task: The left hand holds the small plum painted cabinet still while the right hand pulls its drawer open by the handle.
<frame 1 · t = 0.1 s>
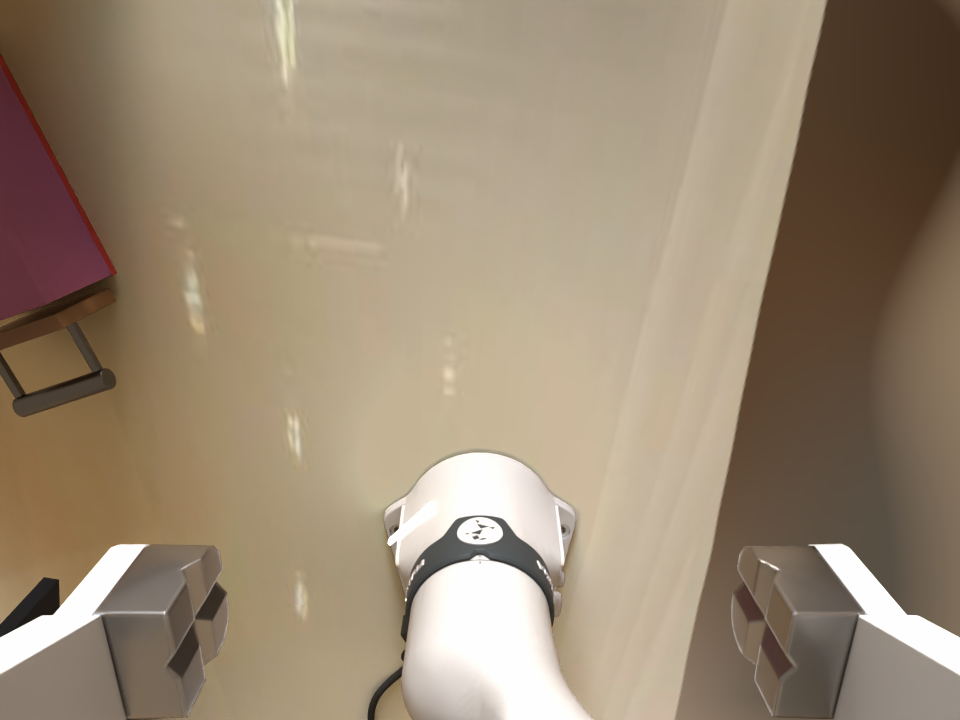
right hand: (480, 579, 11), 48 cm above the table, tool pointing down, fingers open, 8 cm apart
cabinet: (1, 178, 55), on the table
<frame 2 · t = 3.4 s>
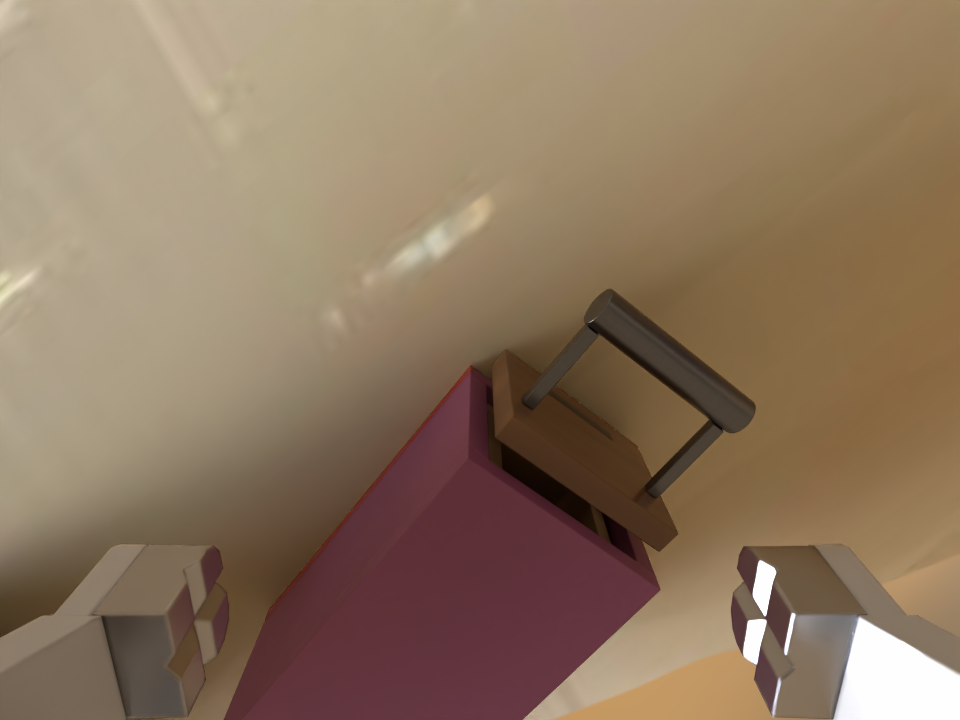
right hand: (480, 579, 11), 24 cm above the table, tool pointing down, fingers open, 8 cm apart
cabinet: (434, 543, 39), on the table
drawer: (499, 526, 32), point 5 cm above the table, slide at 0.9 cm
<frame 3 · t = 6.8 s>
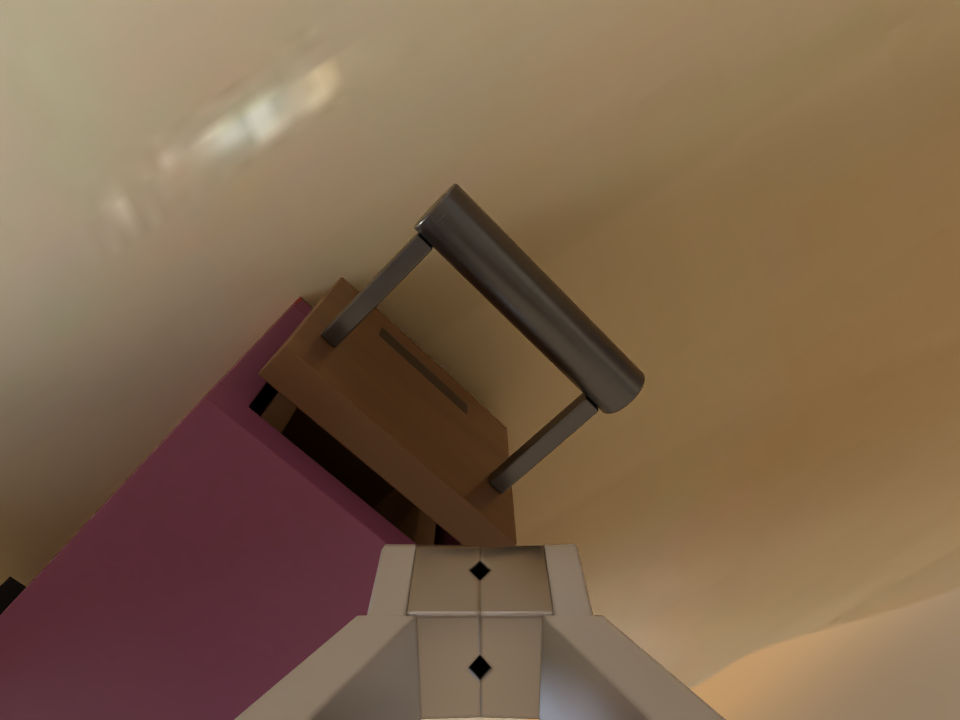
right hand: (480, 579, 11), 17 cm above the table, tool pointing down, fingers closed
cabinet: (244, 526, 30), on the table, touching left hand
drawer: (298, 509, 24), point 5 cm above the table, slide at 0.9 cm
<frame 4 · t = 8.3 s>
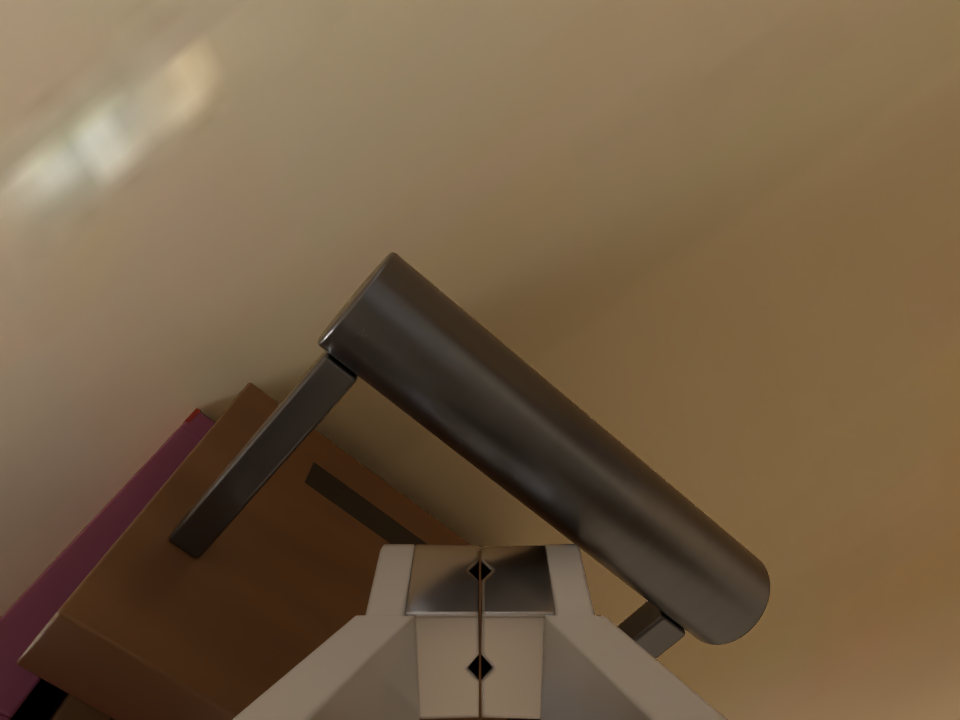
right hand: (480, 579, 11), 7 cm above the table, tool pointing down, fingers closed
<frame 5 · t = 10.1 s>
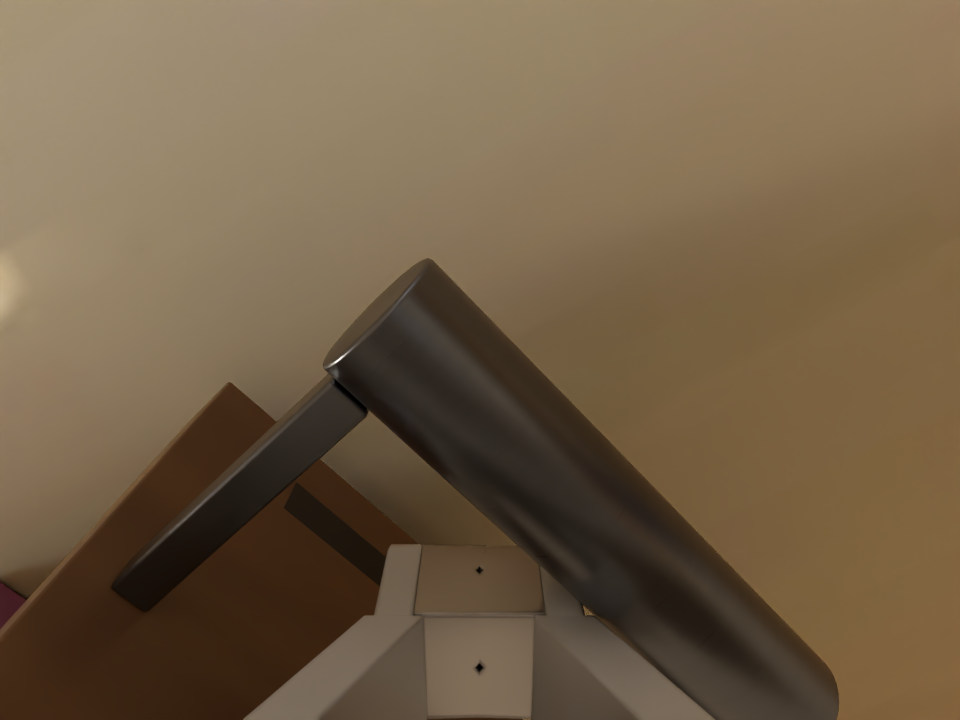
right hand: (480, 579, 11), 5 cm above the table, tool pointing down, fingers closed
when the left hand's fingers open (5 cm above the table, at t = 11.8 s): cabinet stays where it is, on the table.
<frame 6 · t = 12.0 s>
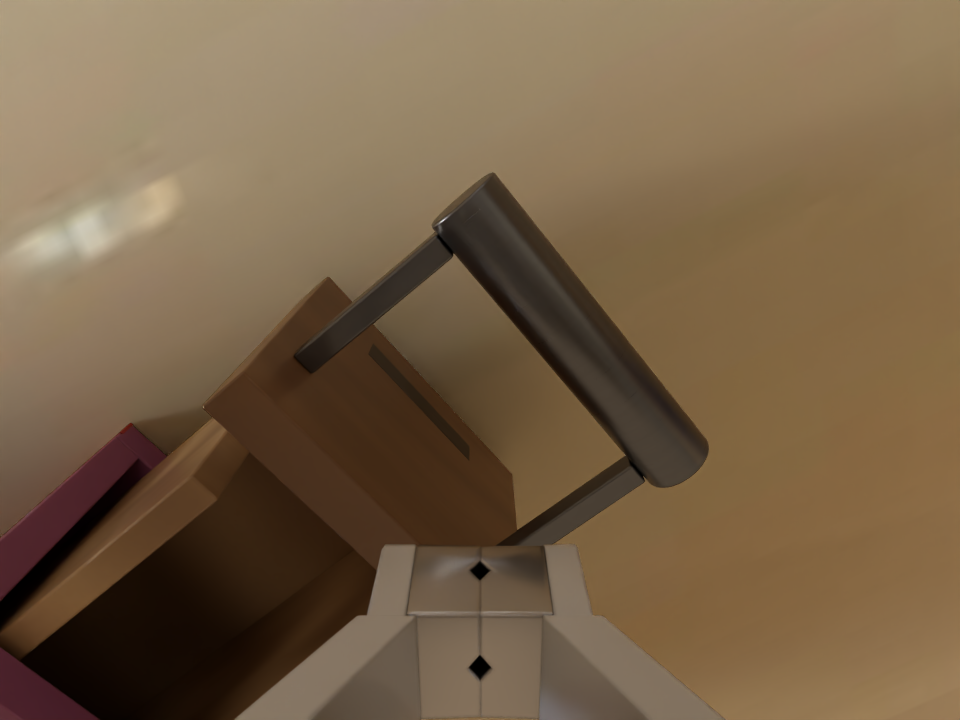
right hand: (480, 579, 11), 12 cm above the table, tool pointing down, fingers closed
cabinet: (65, 655, 27), on the table
drawer: (249, 563, 19), point 5 cm above the table, slide at 8.0 cm
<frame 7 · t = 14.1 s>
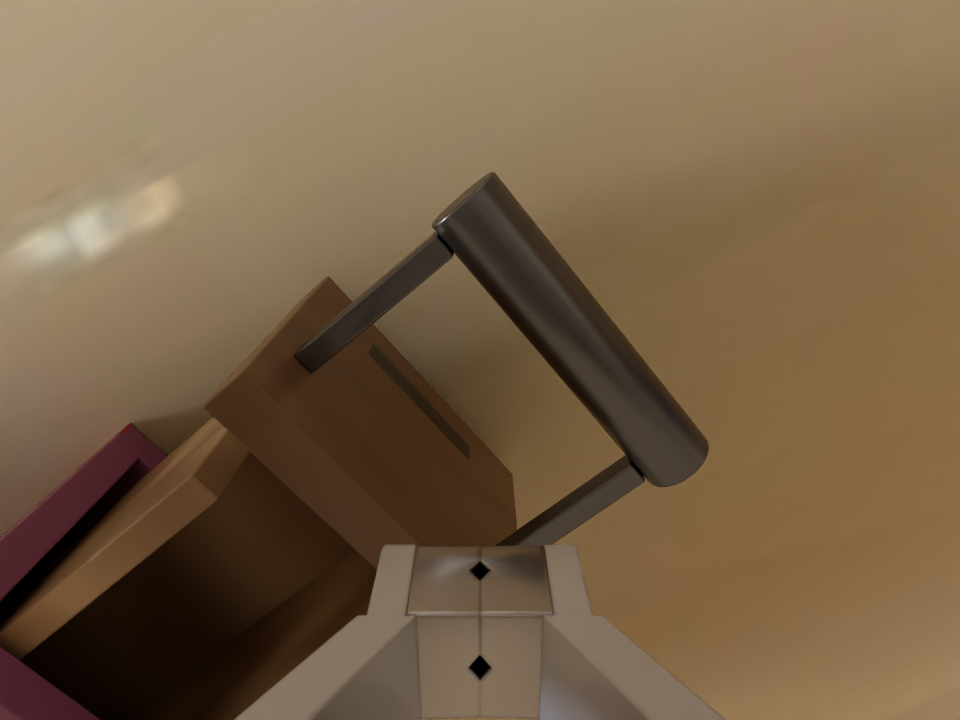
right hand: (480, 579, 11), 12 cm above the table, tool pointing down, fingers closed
cabinet: (65, 655, 27), on the table
drawer: (249, 563, 19), point 5 cm above the table, slide at 8.0 cm
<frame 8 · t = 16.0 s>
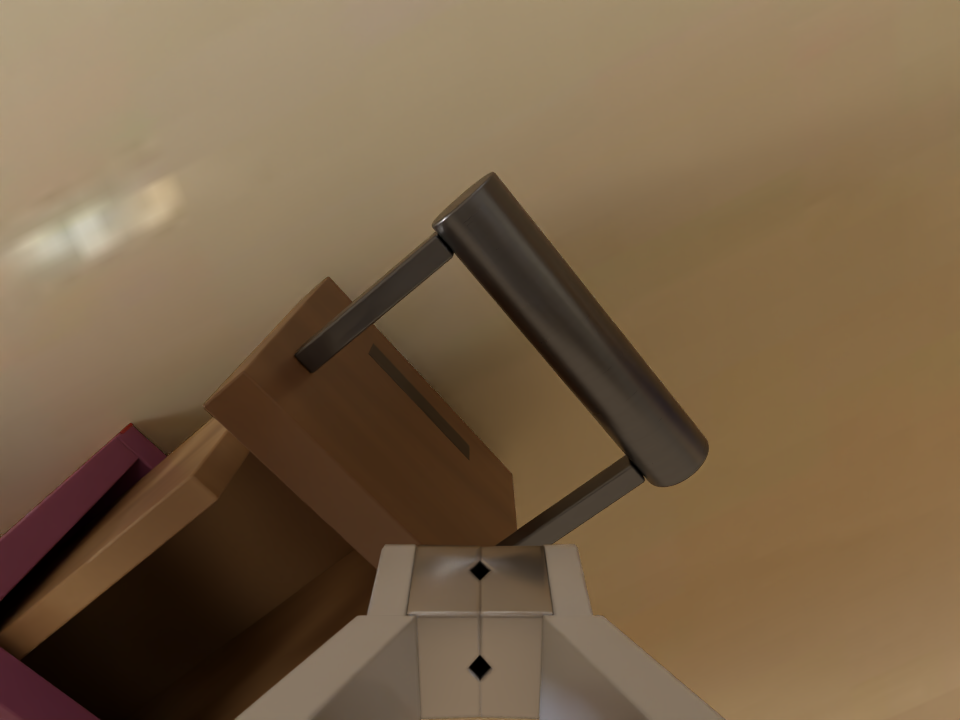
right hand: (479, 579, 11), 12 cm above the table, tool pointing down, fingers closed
cabinet: (65, 655, 27), on the table
drawer: (249, 563, 19), point 5 cm above the table, slide at 8.0 cm
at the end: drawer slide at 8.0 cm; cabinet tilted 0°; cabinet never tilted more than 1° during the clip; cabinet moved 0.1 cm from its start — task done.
